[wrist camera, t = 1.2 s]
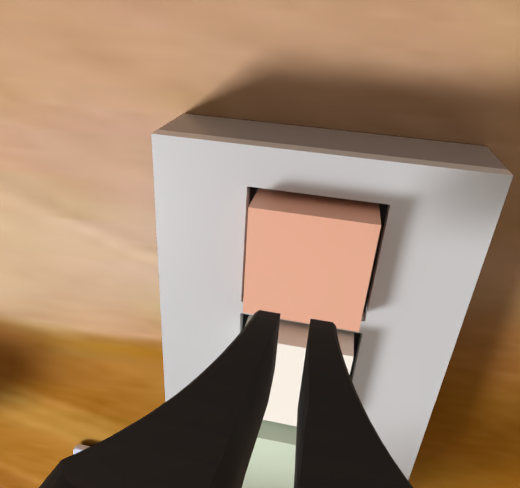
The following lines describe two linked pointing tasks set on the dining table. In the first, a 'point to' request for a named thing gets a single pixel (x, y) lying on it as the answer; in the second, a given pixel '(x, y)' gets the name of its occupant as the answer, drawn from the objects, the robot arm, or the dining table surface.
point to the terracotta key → (309, 256)
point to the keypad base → (385, 261)
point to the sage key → (272, 457)
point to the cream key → (295, 369)
